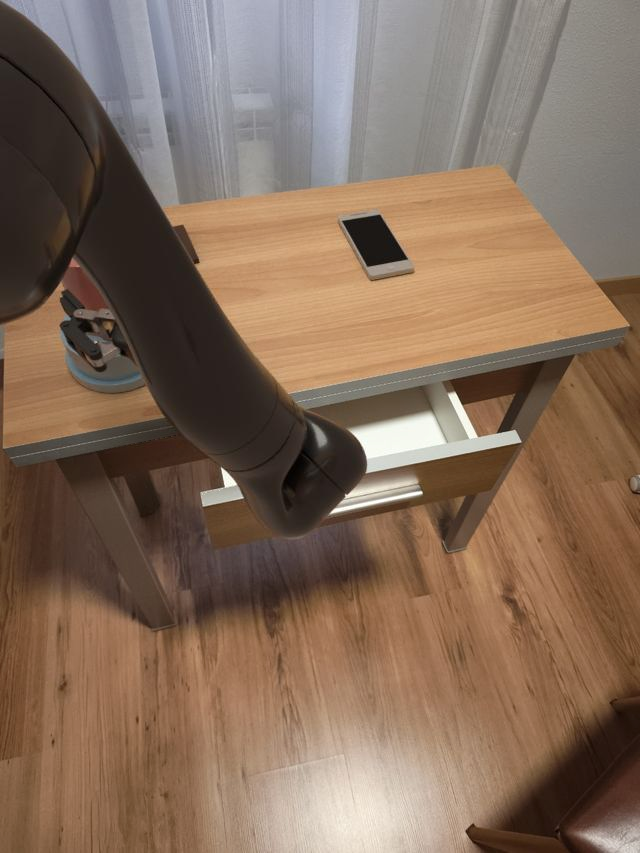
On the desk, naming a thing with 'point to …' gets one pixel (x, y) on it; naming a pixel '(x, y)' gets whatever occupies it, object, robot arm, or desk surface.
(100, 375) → the blue stepped cylinder
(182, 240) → the coaster
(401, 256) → the smartphone
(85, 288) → the terracotta cylinder
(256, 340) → the desk surface
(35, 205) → the robot arm
